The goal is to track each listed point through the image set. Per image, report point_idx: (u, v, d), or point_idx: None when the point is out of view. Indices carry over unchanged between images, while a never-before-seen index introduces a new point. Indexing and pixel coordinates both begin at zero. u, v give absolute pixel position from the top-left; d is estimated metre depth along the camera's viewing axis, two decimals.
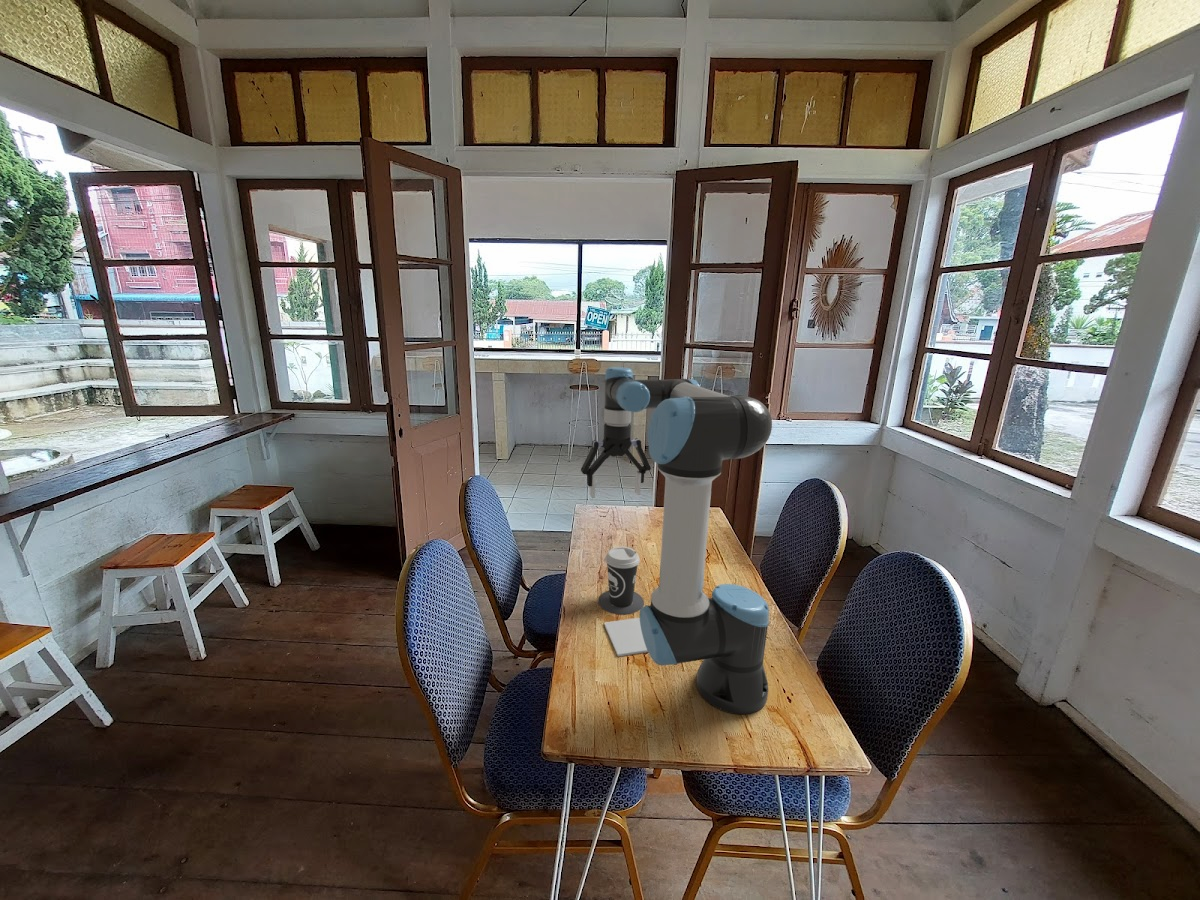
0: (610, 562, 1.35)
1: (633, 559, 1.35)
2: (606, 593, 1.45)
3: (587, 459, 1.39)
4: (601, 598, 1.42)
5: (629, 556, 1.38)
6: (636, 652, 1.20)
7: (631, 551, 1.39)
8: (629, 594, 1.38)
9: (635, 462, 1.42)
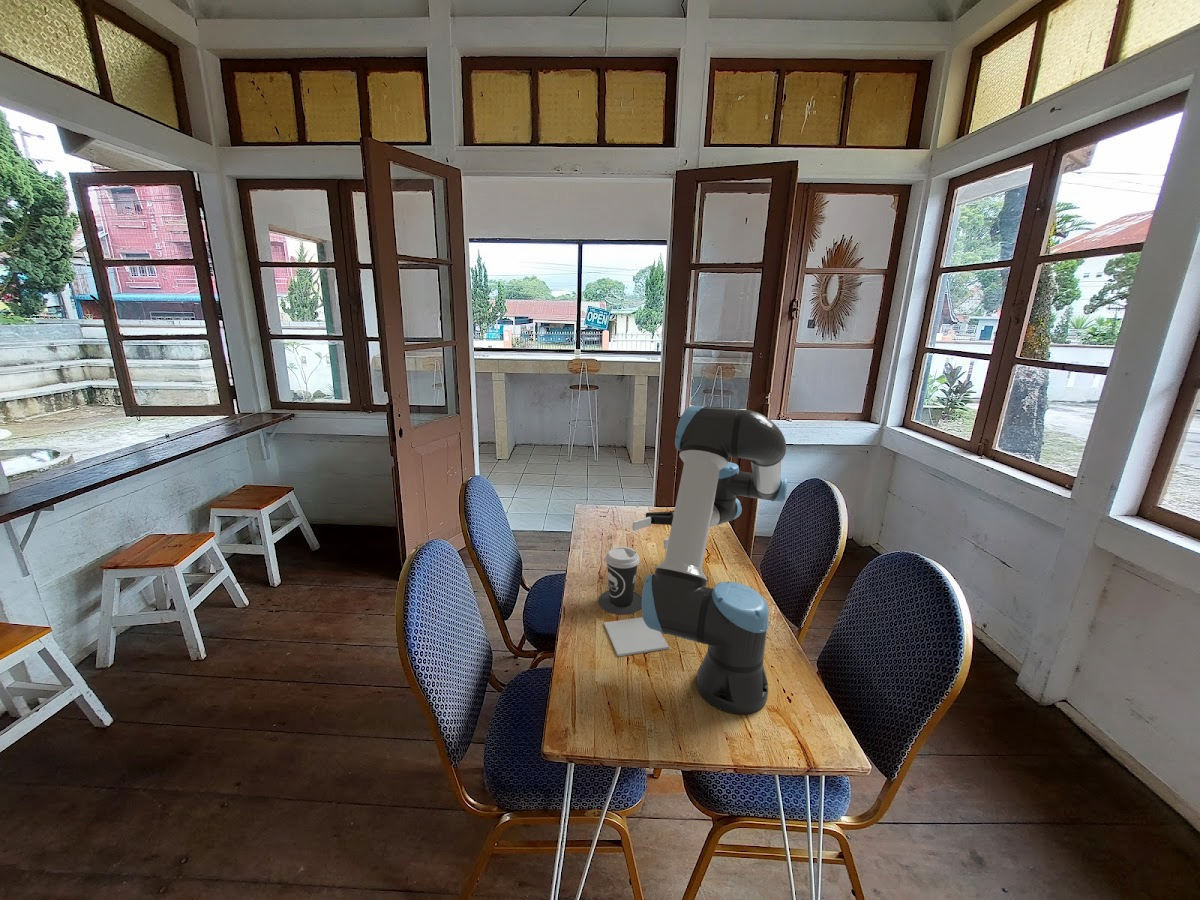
0: (610, 562, 1.35)
1: (633, 559, 1.35)
2: (606, 593, 1.45)
3: None
4: (601, 598, 1.42)
5: (629, 556, 1.38)
6: (636, 652, 1.20)
7: (631, 551, 1.39)
8: (629, 594, 1.38)
9: None
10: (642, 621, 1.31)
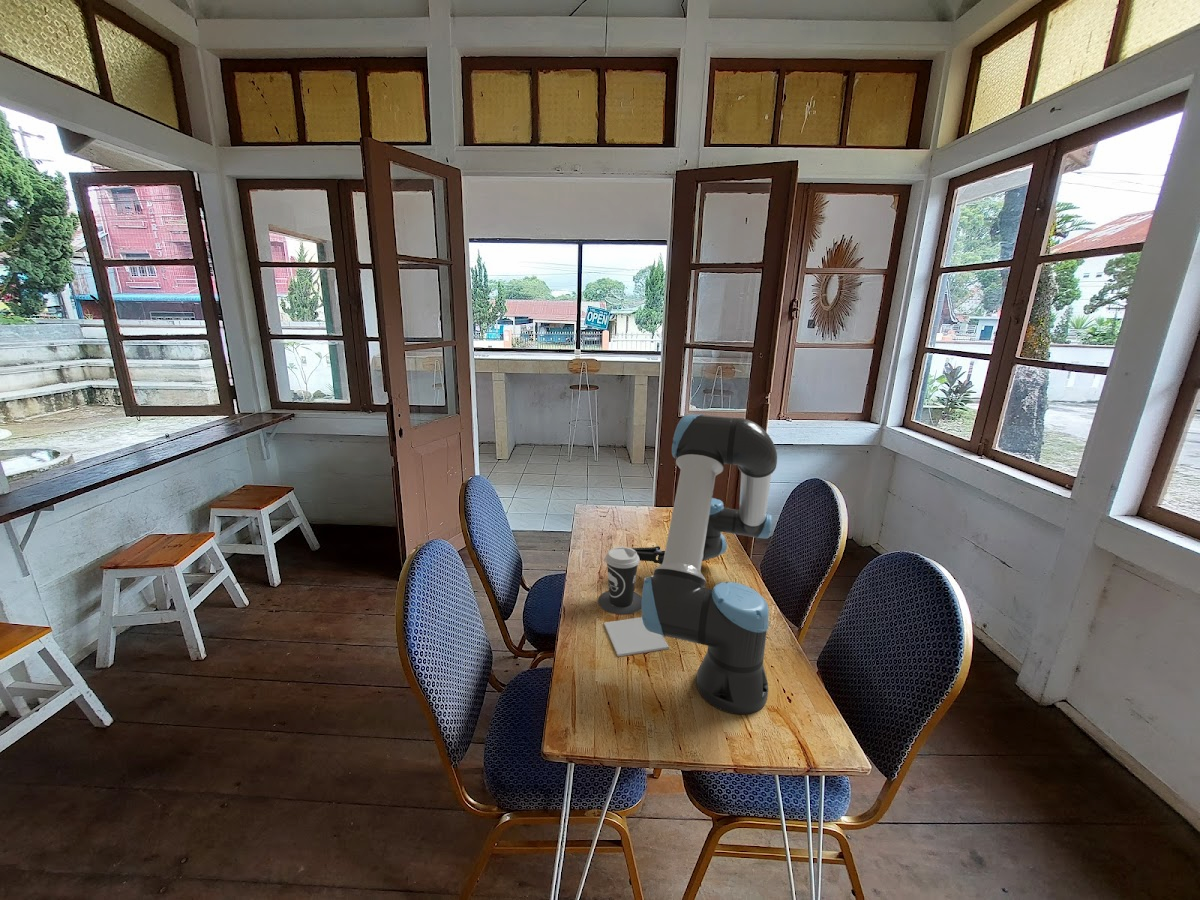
0: (610, 562, 1.35)
1: (633, 559, 1.35)
2: (606, 593, 1.45)
3: None
4: (601, 598, 1.42)
5: (629, 556, 1.38)
6: (636, 652, 1.20)
7: (631, 551, 1.39)
8: (629, 594, 1.38)
9: None
10: (642, 621, 1.31)
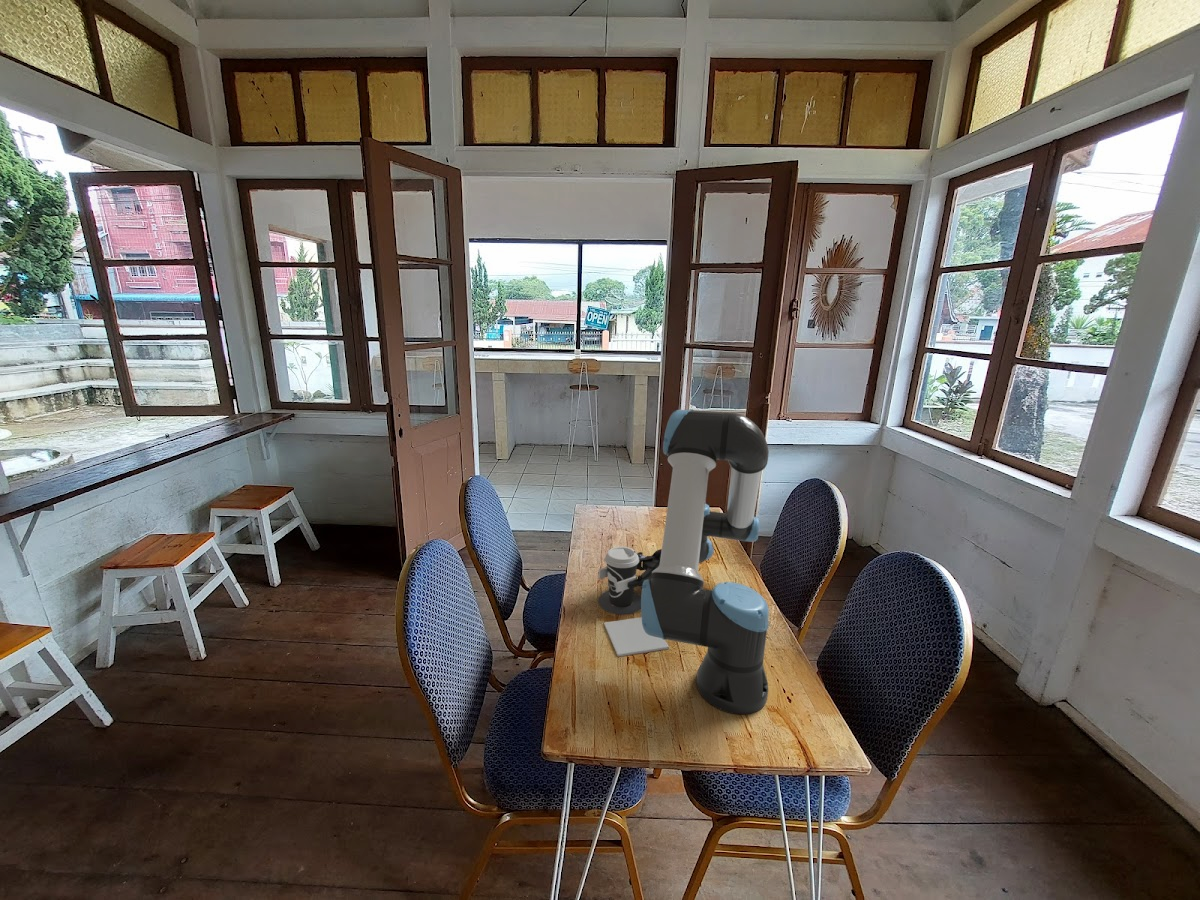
0: (609, 562, 1.35)
1: (632, 559, 1.35)
2: (606, 593, 1.45)
3: None
4: (601, 598, 1.42)
5: (628, 556, 1.38)
6: (636, 652, 1.20)
7: (630, 551, 1.39)
8: (629, 594, 1.38)
9: (646, 572, 1.39)
10: None
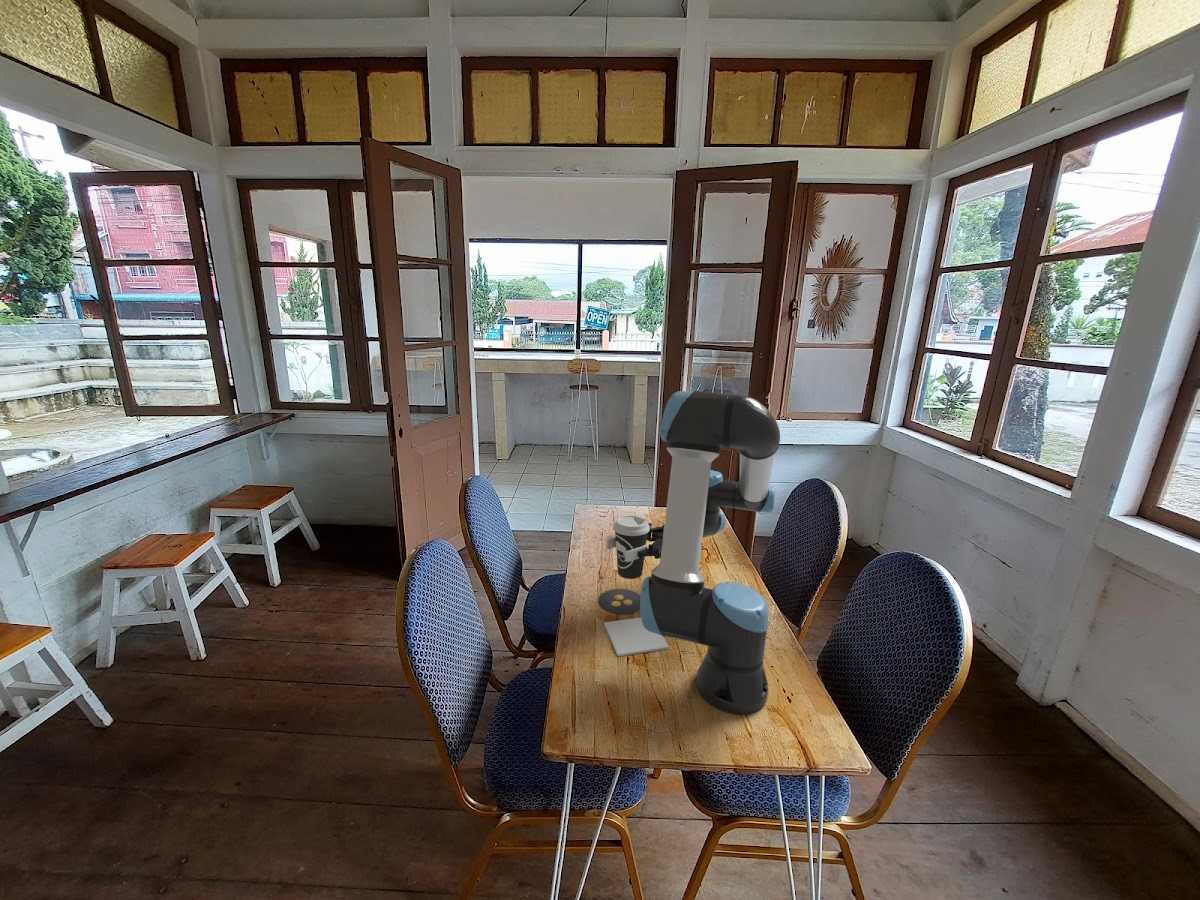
0: (618, 530, 1.26)
1: (643, 526, 1.26)
2: (606, 593, 1.45)
3: None
4: (601, 598, 1.42)
5: (638, 524, 1.30)
6: (636, 652, 1.20)
7: (640, 519, 1.31)
8: (639, 565, 1.29)
9: (656, 541, 1.30)
10: None
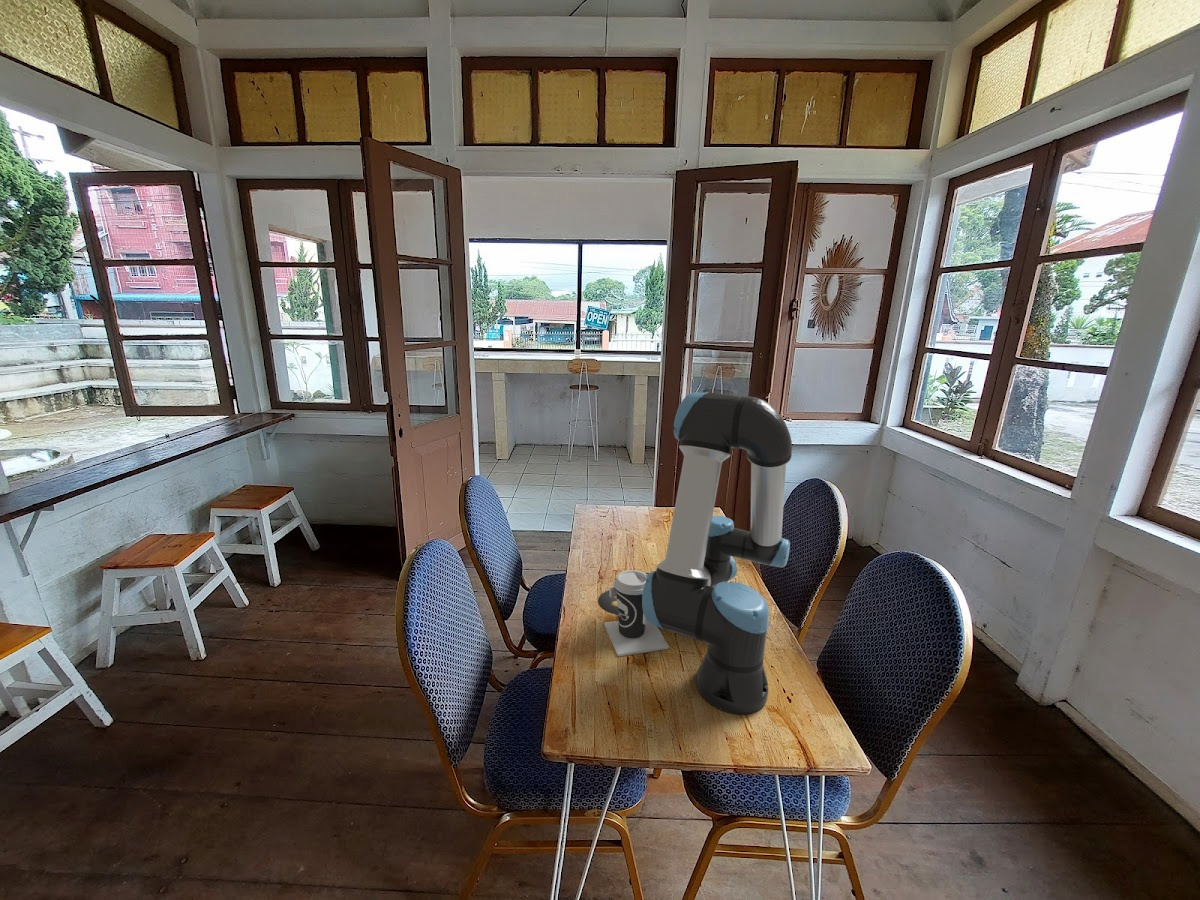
0: (619, 588, 1.21)
1: None
2: (606, 593, 1.45)
3: None
4: (601, 598, 1.42)
5: (640, 581, 1.25)
6: (636, 652, 1.20)
7: (642, 575, 1.26)
8: (641, 624, 1.24)
9: None
10: None
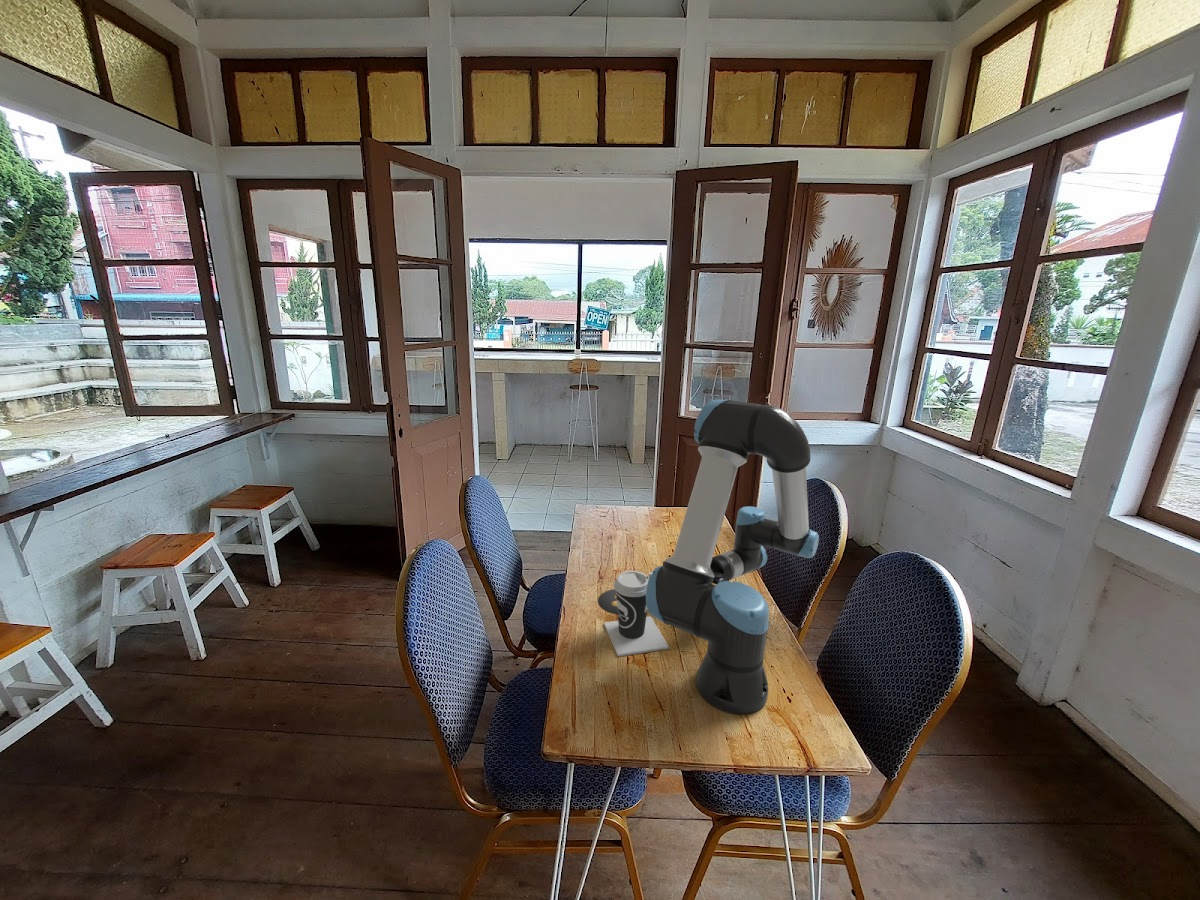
0: (619, 590, 1.21)
1: (645, 586, 1.20)
2: (606, 593, 1.45)
3: None
4: (601, 598, 1.42)
5: (640, 582, 1.24)
6: (636, 652, 1.20)
7: (642, 576, 1.25)
8: (640, 624, 1.23)
9: None
10: None
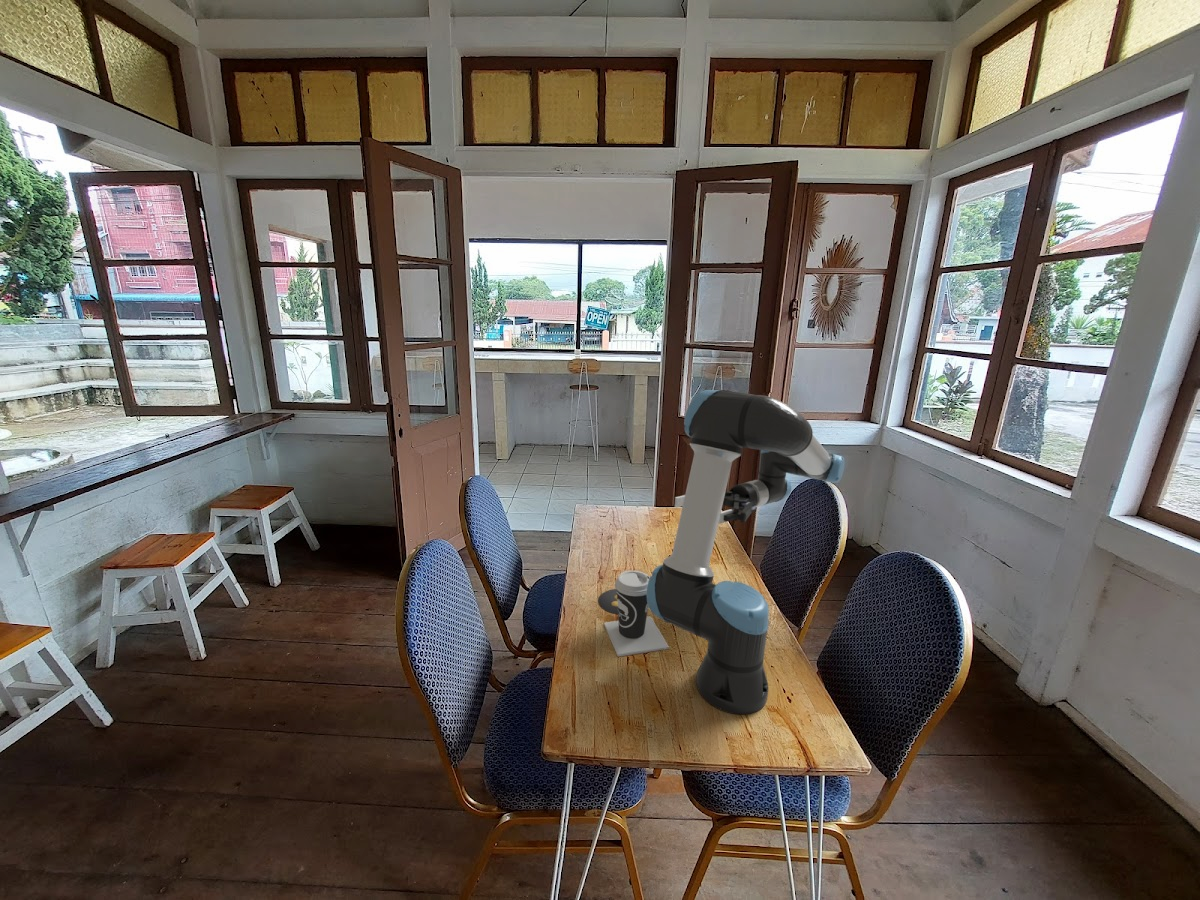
0: (620, 588, 1.21)
1: (646, 586, 1.21)
2: (606, 593, 1.45)
3: None
4: (601, 598, 1.42)
5: (641, 582, 1.24)
6: (636, 652, 1.20)
7: (643, 576, 1.25)
8: (641, 624, 1.24)
9: (736, 505, 1.29)
10: None
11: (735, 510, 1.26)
